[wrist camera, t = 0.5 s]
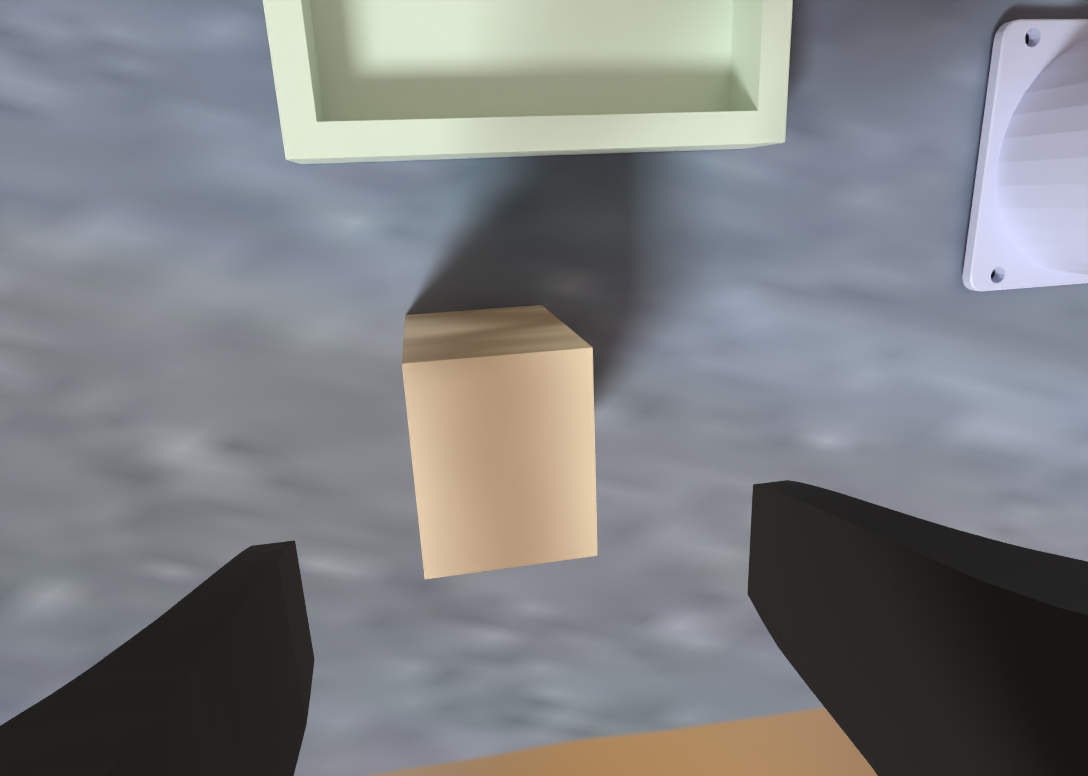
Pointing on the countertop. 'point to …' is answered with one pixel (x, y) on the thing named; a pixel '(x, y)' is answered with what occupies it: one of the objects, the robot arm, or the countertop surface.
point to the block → (500, 438)
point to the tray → (526, 77)
